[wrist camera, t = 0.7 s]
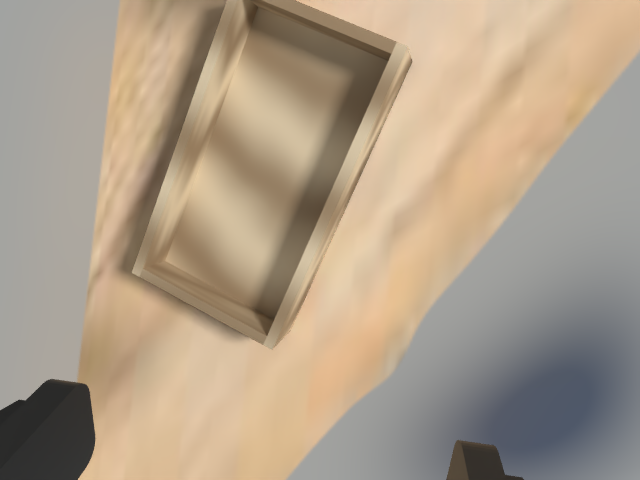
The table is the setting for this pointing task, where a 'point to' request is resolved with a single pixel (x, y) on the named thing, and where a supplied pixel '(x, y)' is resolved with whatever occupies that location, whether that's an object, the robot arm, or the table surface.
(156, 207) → the oak tray
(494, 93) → the table surface
